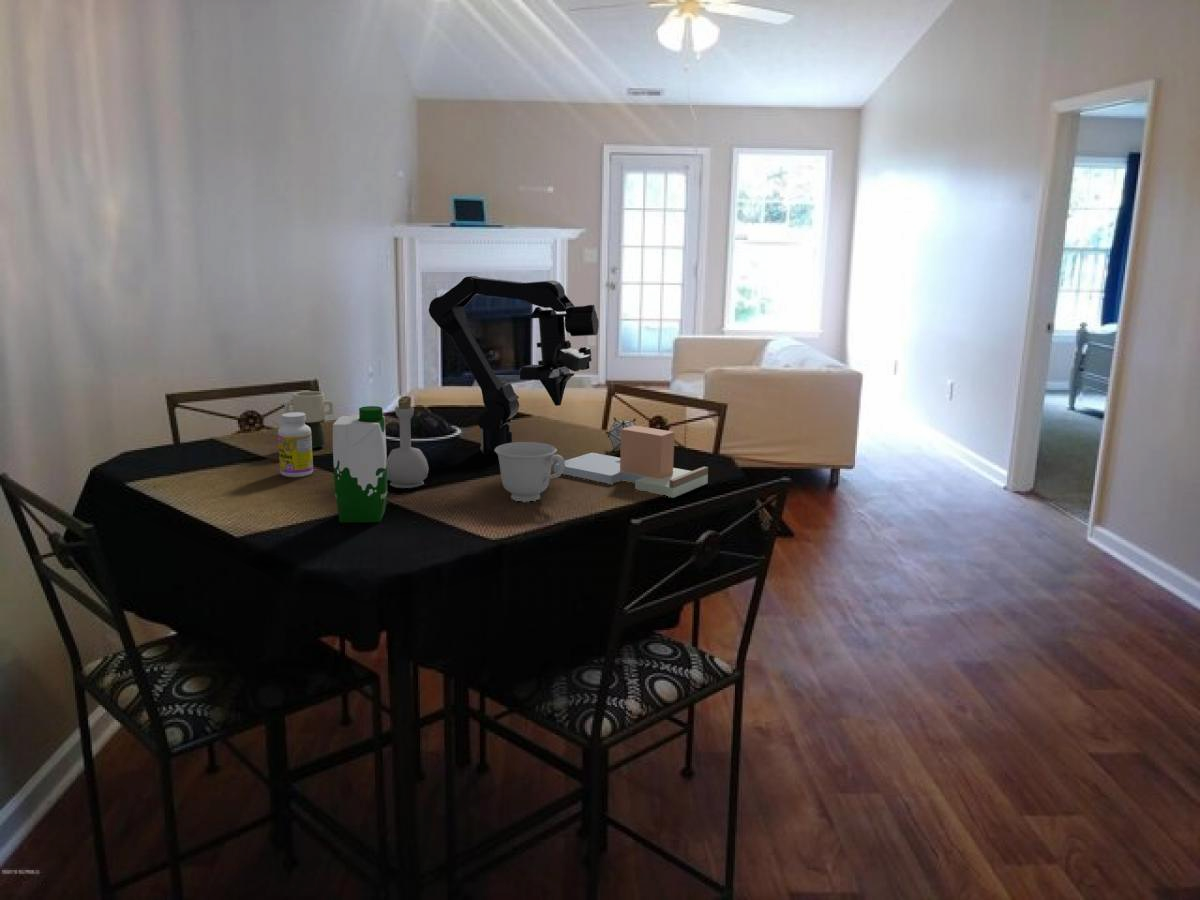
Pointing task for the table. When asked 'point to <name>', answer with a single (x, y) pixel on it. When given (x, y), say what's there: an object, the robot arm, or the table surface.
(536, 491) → the teacup
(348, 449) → the milk carton
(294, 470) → the supplement bottle
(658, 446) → the block
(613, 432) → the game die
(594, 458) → the trap board
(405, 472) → the potion bottle
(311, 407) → the character mug
